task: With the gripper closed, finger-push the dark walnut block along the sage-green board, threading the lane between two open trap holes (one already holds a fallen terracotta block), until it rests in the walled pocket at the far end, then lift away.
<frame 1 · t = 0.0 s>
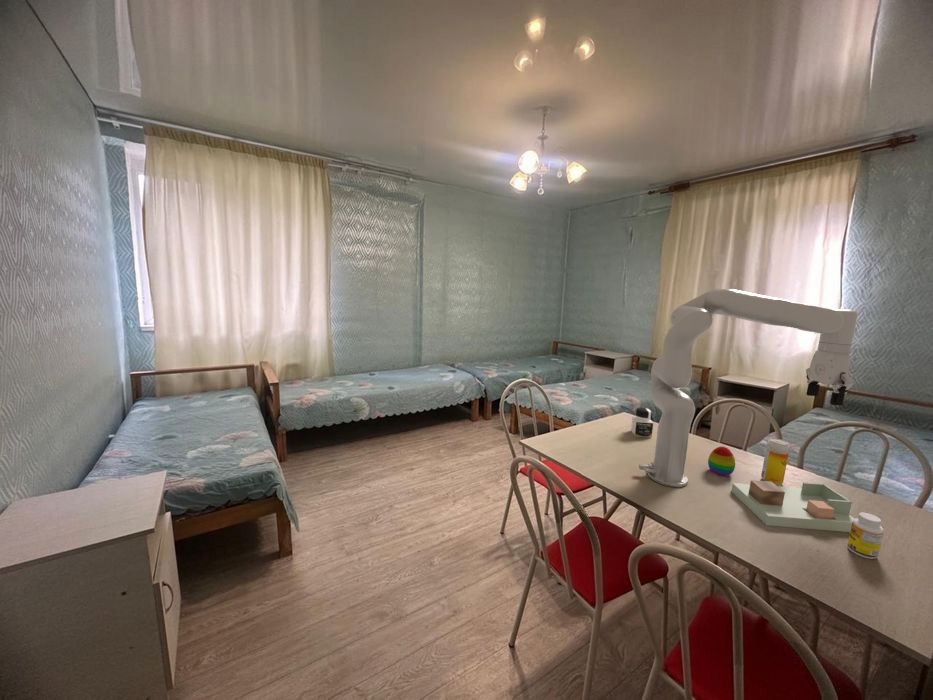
hand: (823, 400, 124), 31 cm above the table, fingers open, 9 cm apart
supplement bottle: (861, 553, 99), on the table
terracotta block: (817, 523, 111), resting in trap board
decorative egg: (719, 473, 140), on the table
medicine bottle: (641, 434, 174), on the table
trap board: (789, 510, 117), on the table
pill bottle: (771, 482, 134), on the table
walnut block: (765, 499, 117), point 3 cm above the table, touching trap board
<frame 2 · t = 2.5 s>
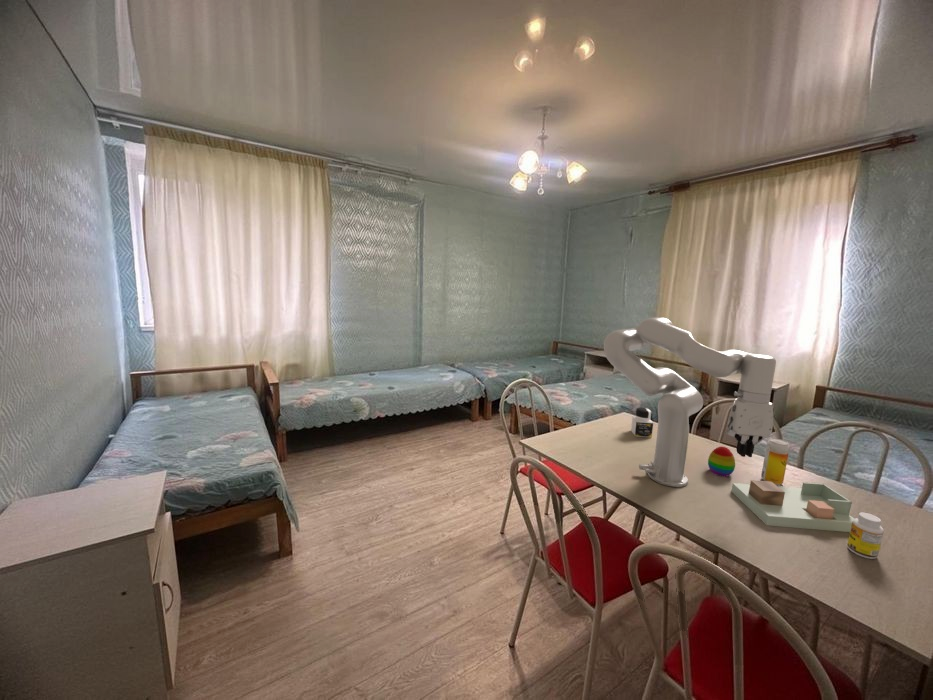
hand: (744, 454, 116), 17 cm above the table, fingers closed
nothing on the table moved.
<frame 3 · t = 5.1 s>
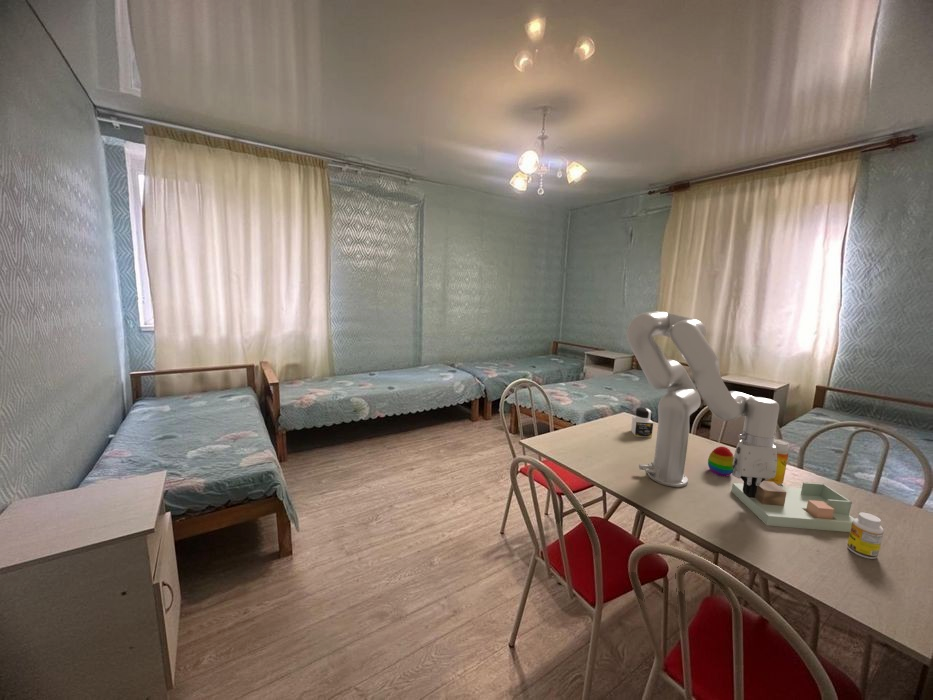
hand: (748, 495, 117), 4 cm above the table, fingers closed
walnut block: (766, 499, 117), point 3 cm above the table, touching gripper, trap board
everything else where it was.
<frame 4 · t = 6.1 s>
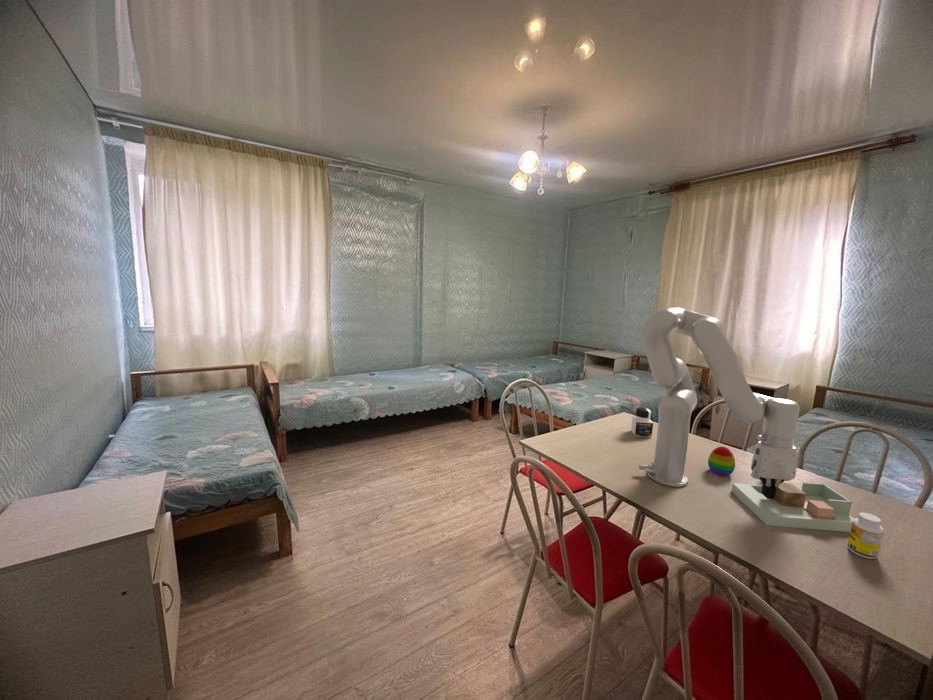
hand: (767, 496, 117), 4 cm above the table, fingers closed
walnut block: (785, 501, 117), point 3 cm above the table, touching gripper, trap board
everything else where it was.
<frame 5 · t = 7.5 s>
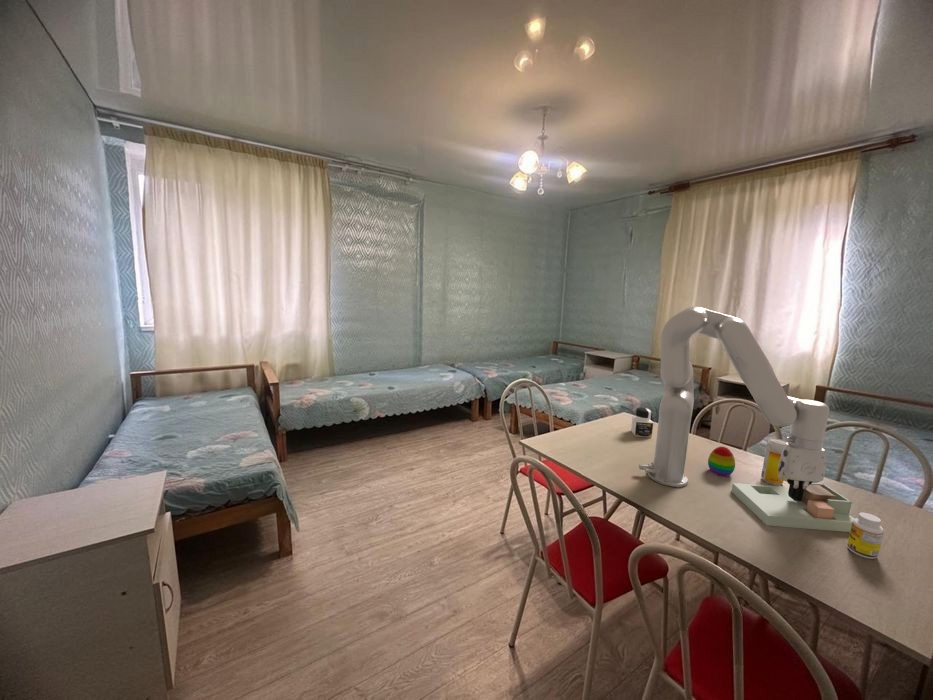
hand: (794, 498, 116), 4 cm above the table, fingers closed
walnut block: (813, 503, 116), point 3 cm above the table, touching gripper
everything else where it was.
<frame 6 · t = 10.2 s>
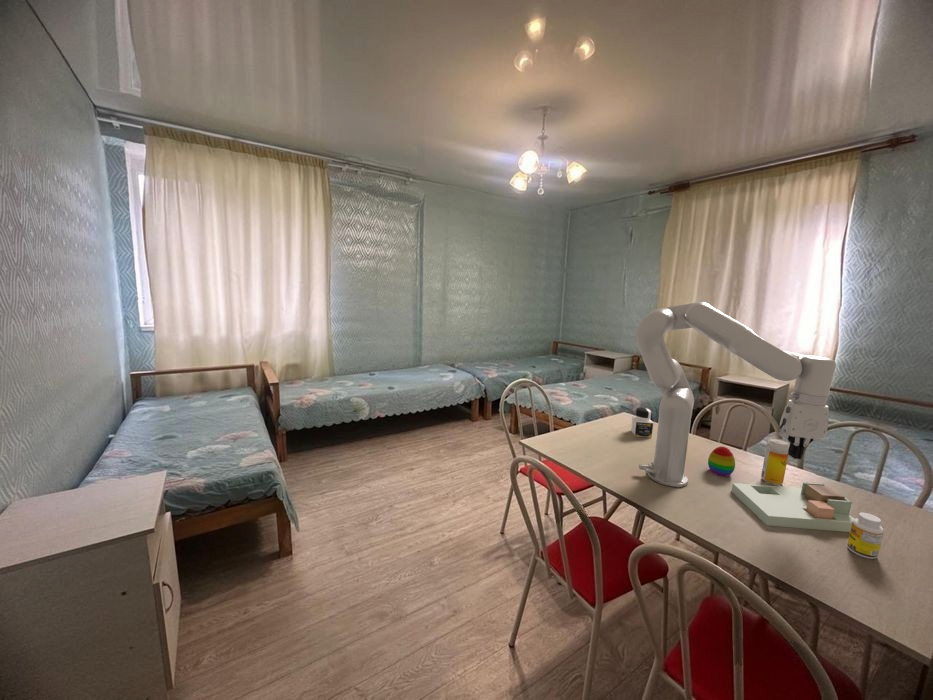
hand: (794, 456, 114), 17 cm above the table, fingers closed
walnut block: (822, 504, 115), point 3 cm above the table, touching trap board
everything else where it was.
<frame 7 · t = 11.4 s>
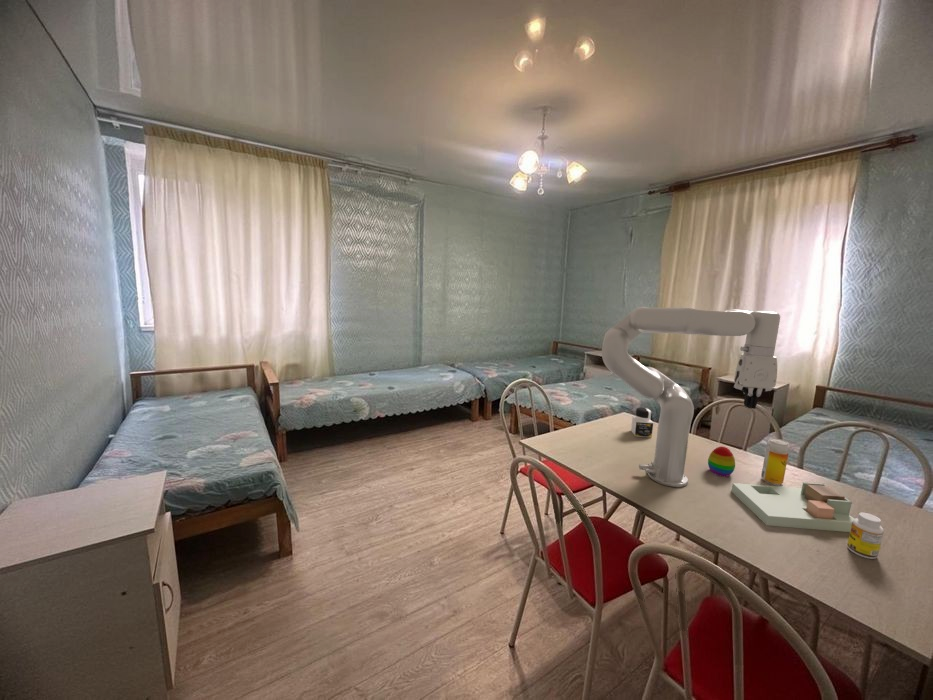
hand: (749, 407, 123), 29 cm above the table, fingers closed
nothing on the table moved.
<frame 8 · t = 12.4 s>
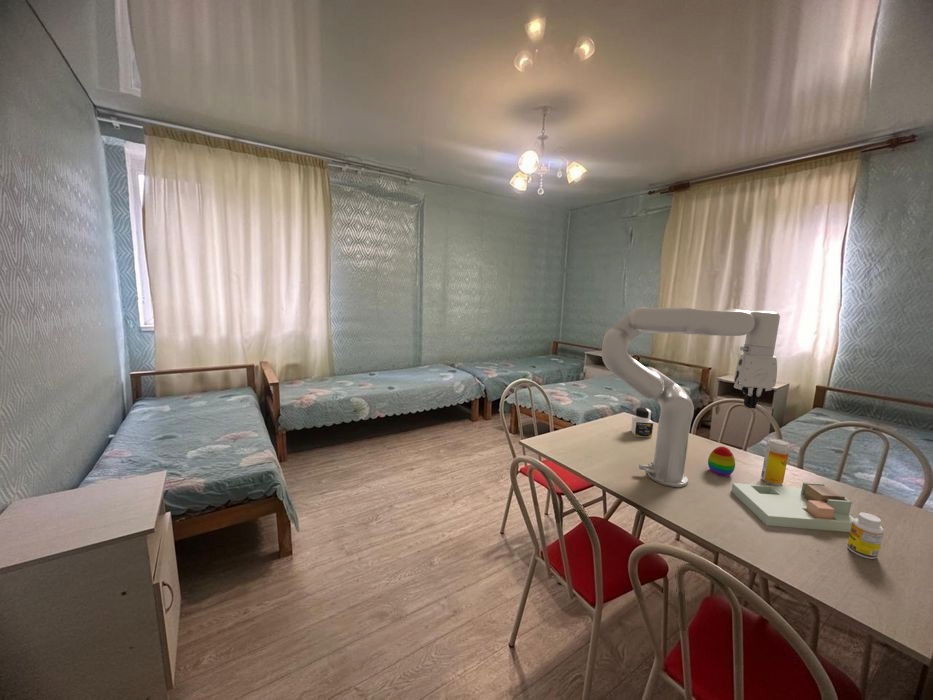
hand: (749, 407, 123), 29 cm above the table, fingers closed
nothing on the table moved.
at the end: walnut block 0.5 cm from the target spot on the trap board, point 3.0 cm above the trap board's base; walnut block tilted 0° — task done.
